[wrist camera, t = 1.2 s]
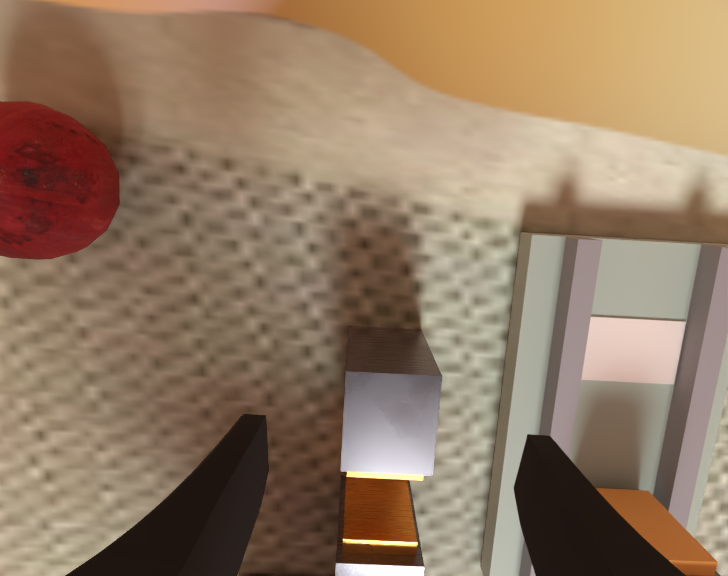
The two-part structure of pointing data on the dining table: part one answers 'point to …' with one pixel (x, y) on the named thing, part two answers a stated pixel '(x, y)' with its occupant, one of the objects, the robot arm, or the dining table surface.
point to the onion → (52, 183)
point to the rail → (615, 383)
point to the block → (377, 529)
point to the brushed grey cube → (389, 404)
